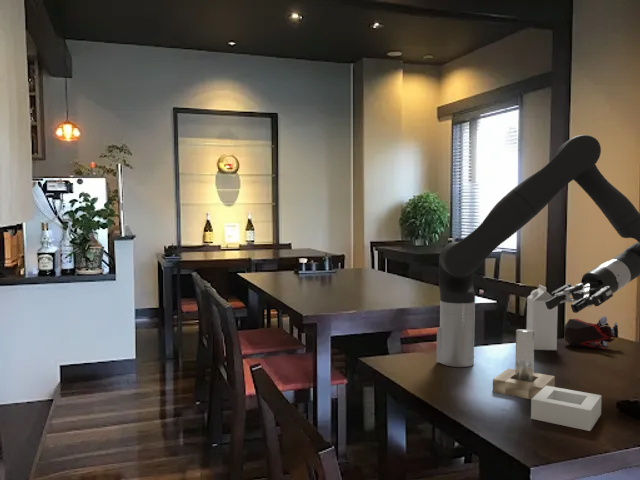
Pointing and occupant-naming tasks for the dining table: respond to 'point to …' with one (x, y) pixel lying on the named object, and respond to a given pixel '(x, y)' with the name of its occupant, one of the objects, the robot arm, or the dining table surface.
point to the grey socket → (566, 407)
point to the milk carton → (542, 320)
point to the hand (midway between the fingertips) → (559, 307)
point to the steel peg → (524, 355)
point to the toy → (589, 333)
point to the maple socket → (521, 384)
